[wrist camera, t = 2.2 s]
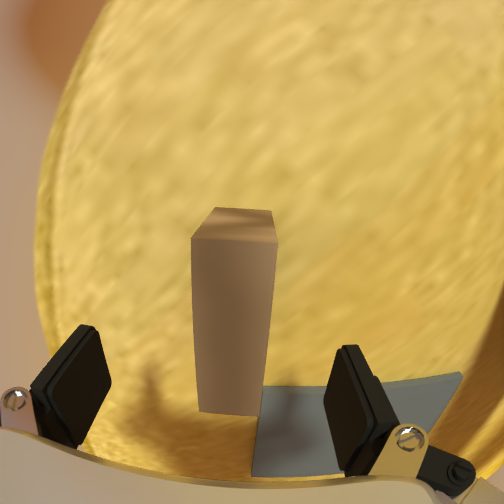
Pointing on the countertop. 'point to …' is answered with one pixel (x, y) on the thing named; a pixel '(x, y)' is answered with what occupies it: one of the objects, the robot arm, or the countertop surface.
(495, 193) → the countertop surface
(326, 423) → the mat
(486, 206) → the countertop surface
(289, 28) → the countertop surface
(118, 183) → the countertop surface
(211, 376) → the brown angular block
